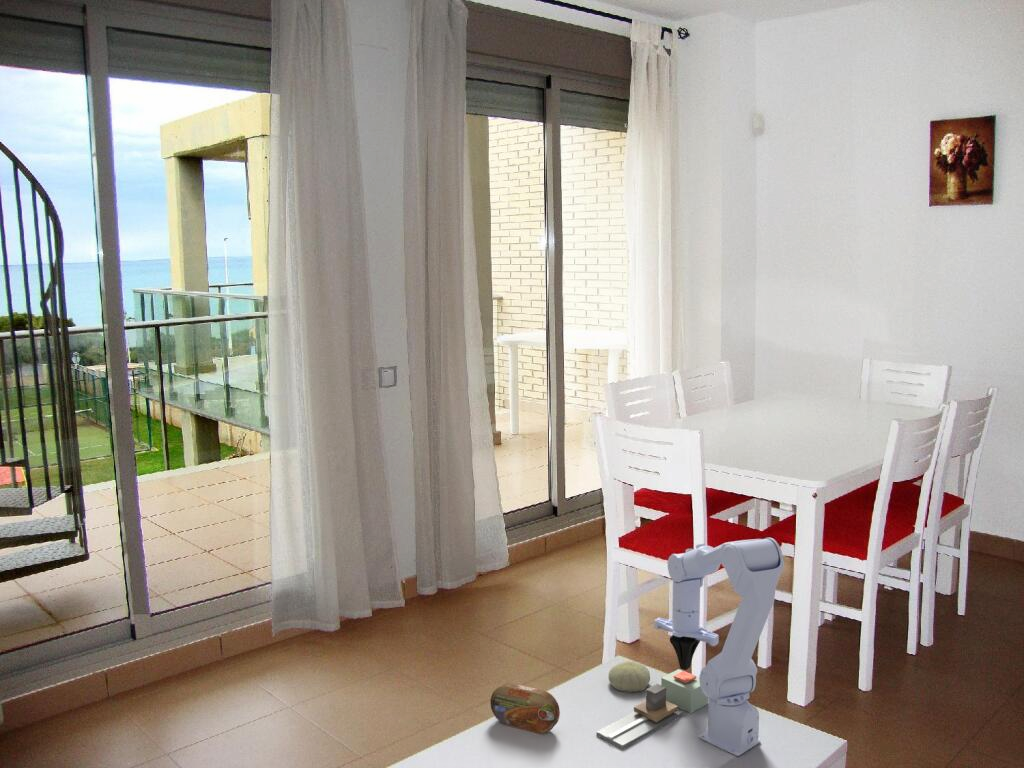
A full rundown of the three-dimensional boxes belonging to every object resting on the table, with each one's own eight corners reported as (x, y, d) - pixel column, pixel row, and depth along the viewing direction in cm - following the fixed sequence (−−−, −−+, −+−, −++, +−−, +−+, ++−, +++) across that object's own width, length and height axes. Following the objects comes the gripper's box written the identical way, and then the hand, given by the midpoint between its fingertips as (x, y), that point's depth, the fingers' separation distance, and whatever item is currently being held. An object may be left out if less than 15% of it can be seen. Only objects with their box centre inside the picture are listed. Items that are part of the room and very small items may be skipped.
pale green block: (708, 703, 196) (708, 681, 195) (690, 713, 192) (691, 690, 191) (678, 690, 202) (678, 668, 201) (661, 699, 198) (661, 677, 197)
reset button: (696, 685, 196) (696, 675, 196) (686, 690, 194) (686, 681, 194) (683, 680, 199) (683, 670, 198) (673, 685, 196) (673, 675, 196)
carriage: (677, 710, 190) (678, 688, 190) (656, 722, 186) (656, 699, 185) (655, 700, 195) (655, 678, 194) (633, 711, 190) (634, 688, 189)
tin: (489, 721, 190) (489, 683, 188) (497, 714, 193) (496, 677, 191) (555, 738, 183) (555, 699, 182) (561, 731, 186) (561, 692, 184)
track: (683, 715, 191) (683, 710, 191) (622, 749, 178) (622, 743, 178) (657, 703, 196) (657, 698, 196) (596, 735, 184) (596, 729, 183)
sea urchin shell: (598, 671, 207) (621, 644, 208) (621, 690, 210) (643, 664, 210) (615, 690, 198) (638, 661, 199) (638, 709, 201) (661, 681, 202)
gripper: (646, 605, 195) (646, 664, 197) (707, 622, 186) (706, 684, 188) (663, 595, 200) (663, 653, 202) (723, 611, 191) (722, 672, 193)
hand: (685, 667), depth 196 cm, fingers closed
